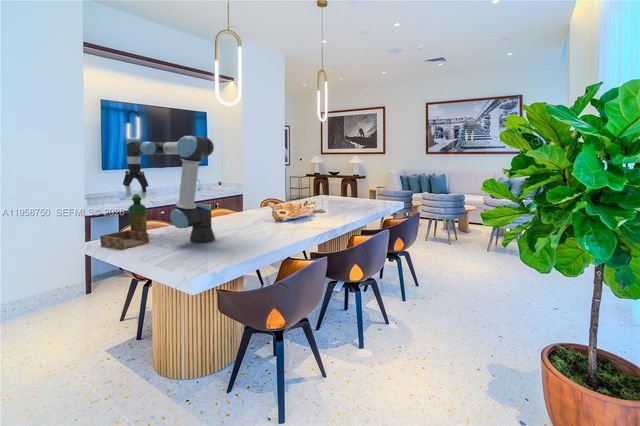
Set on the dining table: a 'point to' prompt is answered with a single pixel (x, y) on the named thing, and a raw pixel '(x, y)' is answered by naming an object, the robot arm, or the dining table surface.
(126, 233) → the tray
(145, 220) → the bottle
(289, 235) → the dining table surface
